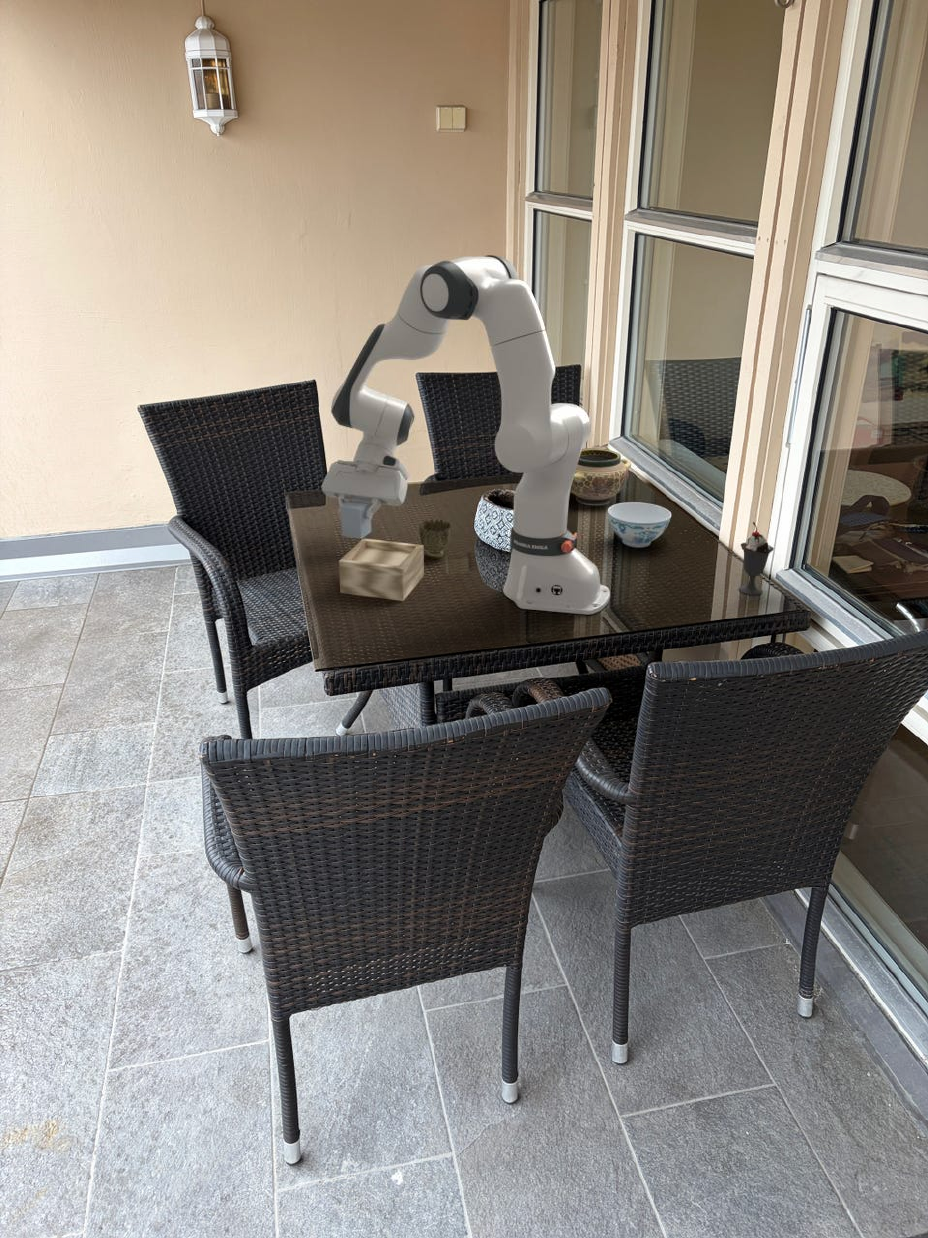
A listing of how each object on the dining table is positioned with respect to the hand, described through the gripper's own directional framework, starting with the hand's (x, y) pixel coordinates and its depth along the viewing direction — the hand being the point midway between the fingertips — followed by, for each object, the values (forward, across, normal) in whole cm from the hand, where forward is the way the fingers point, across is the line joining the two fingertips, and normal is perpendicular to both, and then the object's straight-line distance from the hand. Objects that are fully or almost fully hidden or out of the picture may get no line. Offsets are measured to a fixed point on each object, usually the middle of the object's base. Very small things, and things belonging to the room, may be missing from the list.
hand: (354, 516), depth 213 cm
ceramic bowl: (-36, +40, +50) cm, 74 cm away
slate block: (+3, 0, +4) cm, 4 cm away
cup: (+3, +18, +11) cm, 21 cm away
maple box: (+16, +14, -2) cm, 21 cm away
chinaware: (-17, +58, +31) cm, 68 cm away
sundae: (-3, +88, +18) cm, 89 cm away
